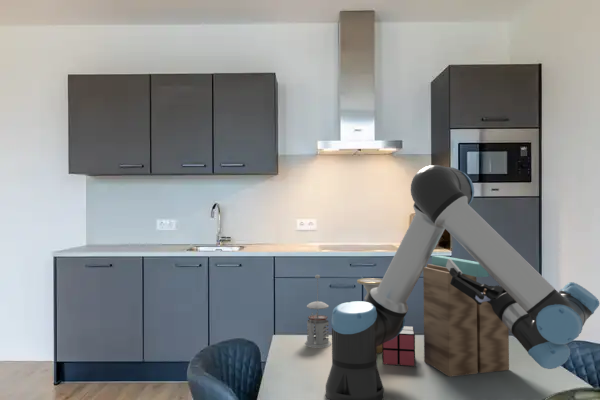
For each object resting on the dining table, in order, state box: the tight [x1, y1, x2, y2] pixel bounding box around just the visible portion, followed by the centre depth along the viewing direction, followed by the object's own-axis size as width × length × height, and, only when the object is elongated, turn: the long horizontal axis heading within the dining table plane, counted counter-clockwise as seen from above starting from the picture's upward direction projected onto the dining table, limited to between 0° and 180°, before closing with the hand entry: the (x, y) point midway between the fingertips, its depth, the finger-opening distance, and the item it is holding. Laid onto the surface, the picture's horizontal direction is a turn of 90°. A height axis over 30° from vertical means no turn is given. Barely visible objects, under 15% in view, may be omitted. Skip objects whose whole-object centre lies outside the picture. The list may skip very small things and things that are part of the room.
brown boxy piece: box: [422, 263, 510, 377], centre depth 143 cm, size 20×14×31 cm
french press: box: [304, 274, 332, 349], centre depth 166 cm, size 10×12×25 cm
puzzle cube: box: [381, 325, 416, 367], centre depth 148 cm, size 10×10×10 cm
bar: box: [431, 255, 490, 278], centre depth 138 cm, size 24×4×4 cm, turn 15°
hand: (468, 261), depth 133 cm, fingers open, 13 cm apart
